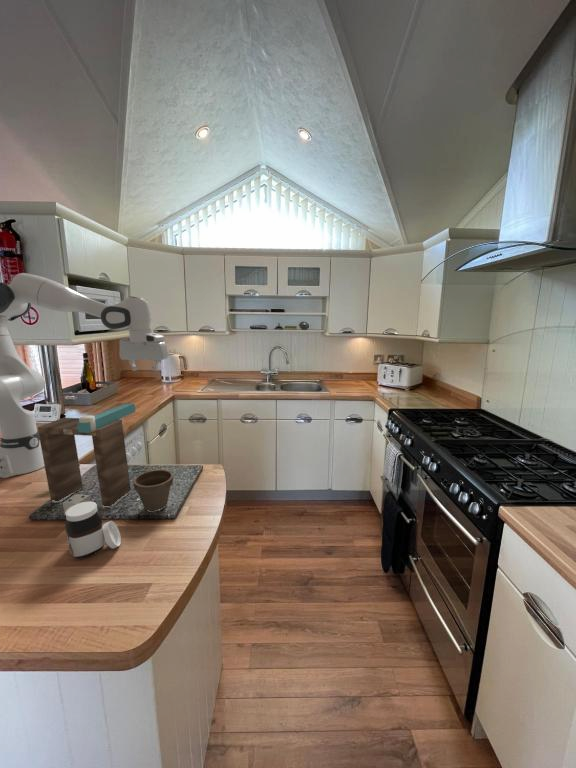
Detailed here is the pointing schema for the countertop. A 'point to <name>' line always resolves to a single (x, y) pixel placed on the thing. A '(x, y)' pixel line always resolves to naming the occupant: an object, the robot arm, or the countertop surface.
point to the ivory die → (75, 501)
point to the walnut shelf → (65, 462)
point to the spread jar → (88, 531)
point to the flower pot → (154, 488)
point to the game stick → (104, 418)
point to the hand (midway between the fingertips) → (145, 370)
